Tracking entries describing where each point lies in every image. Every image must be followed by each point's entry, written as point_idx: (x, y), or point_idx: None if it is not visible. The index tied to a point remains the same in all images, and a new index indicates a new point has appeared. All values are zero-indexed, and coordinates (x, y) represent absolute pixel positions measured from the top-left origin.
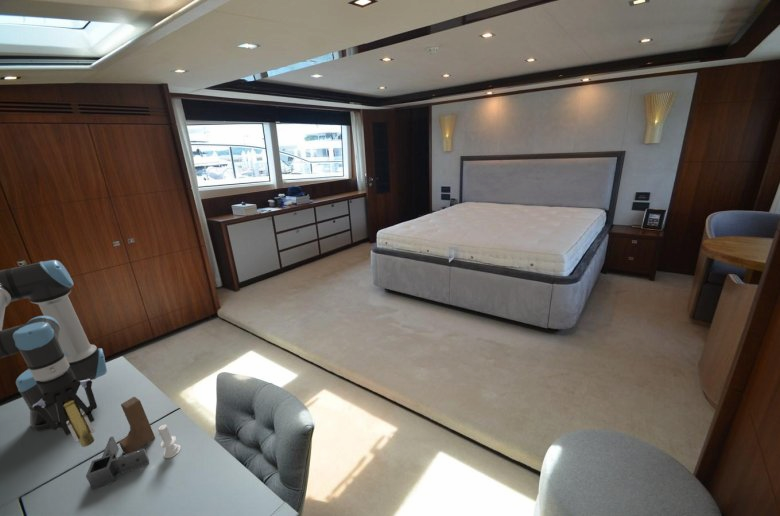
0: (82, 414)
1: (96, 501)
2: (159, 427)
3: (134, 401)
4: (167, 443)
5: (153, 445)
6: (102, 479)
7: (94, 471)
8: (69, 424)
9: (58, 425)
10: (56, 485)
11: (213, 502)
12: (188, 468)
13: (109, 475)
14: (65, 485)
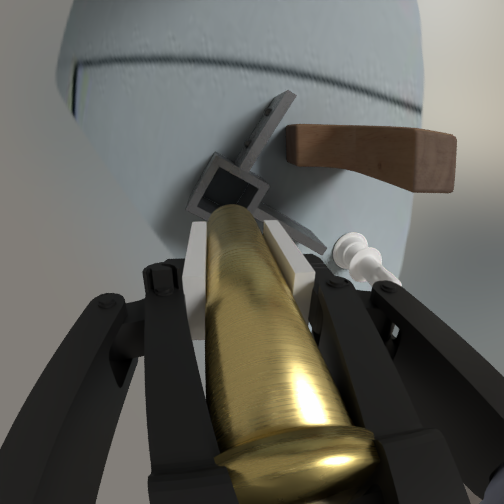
0: (297, 288)
1: (187, 244)
2: None
3: (445, 179)
4: (361, 275)
5: (339, 184)
6: None
7: (207, 212)
8: (201, 329)
9: (140, 349)
10: (133, 93)
11: None
12: None
13: None
14: (147, 114)
